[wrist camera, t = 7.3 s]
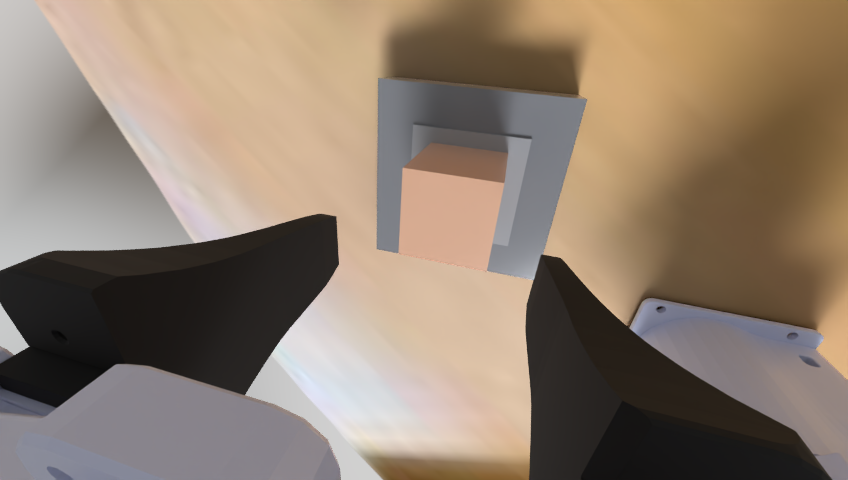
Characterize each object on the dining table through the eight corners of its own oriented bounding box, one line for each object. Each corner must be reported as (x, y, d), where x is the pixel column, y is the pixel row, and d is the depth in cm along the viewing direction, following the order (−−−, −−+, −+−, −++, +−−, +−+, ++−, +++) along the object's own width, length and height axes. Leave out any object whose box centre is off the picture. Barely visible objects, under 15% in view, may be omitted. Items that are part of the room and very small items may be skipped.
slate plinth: (578, 95, 17) (587, 99, 15) (533, 259, 22) (535, 281, 20) (394, 76, 19) (377, 78, 17) (389, 232, 24) (375, 250, 22)
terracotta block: (508, 152, 17) (504, 183, 13) (494, 224, 19) (486, 271, 15) (431, 142, 18) (402, 167, 13) (425, 212, 20) (398, 254, 15)
